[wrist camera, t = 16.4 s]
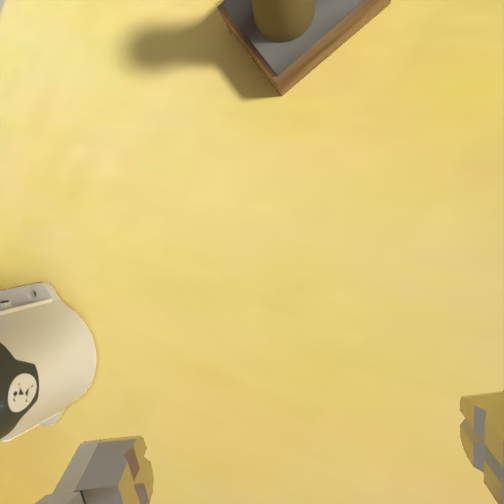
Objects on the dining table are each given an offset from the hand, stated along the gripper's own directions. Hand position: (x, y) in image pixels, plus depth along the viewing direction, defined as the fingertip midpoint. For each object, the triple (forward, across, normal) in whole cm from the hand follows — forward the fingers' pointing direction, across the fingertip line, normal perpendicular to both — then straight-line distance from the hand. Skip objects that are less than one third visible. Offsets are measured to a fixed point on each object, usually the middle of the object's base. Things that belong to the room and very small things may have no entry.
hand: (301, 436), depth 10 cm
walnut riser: (+39, -7, -19) cm, 44 cm away
